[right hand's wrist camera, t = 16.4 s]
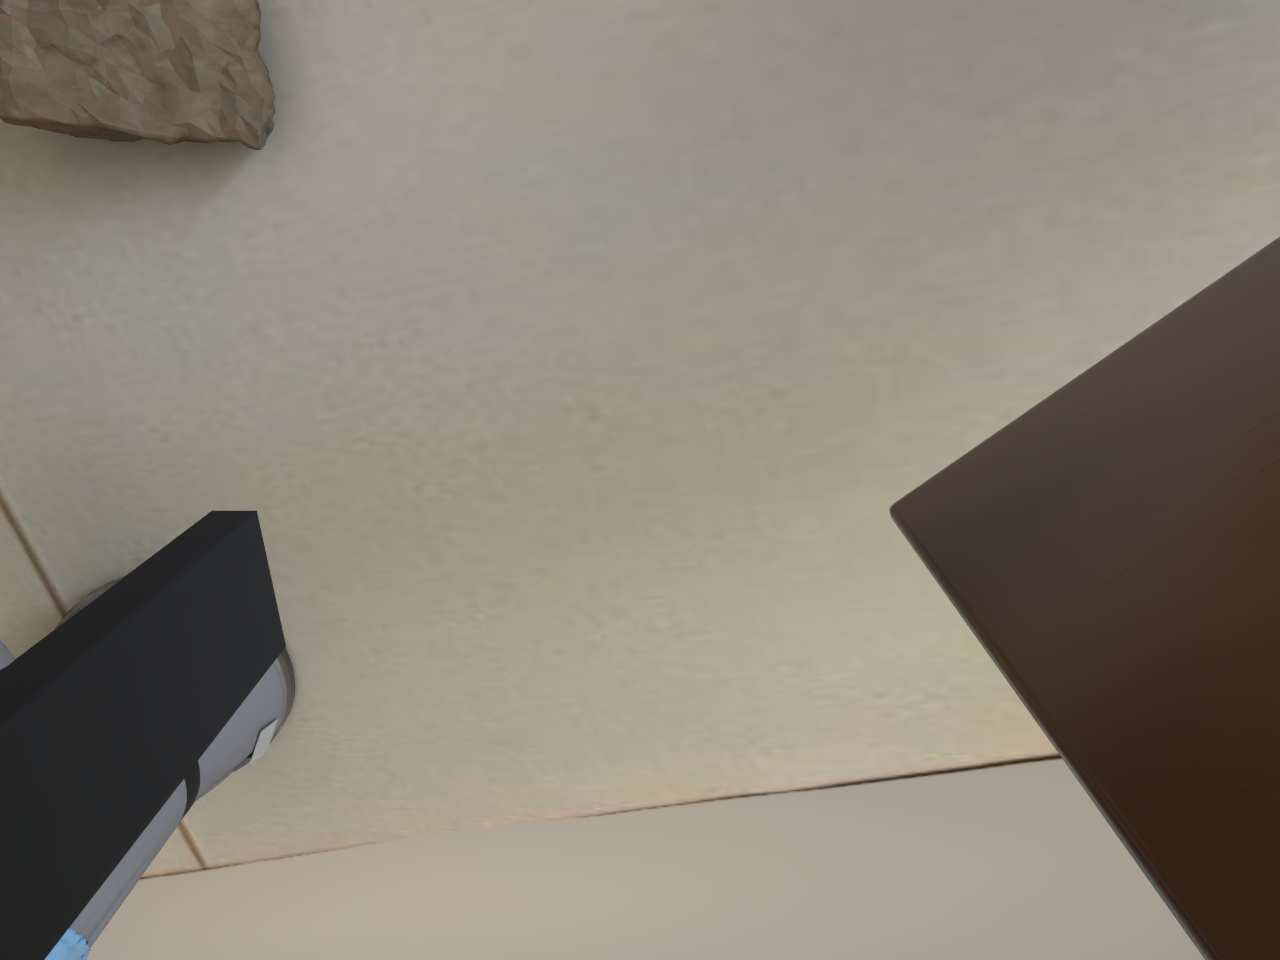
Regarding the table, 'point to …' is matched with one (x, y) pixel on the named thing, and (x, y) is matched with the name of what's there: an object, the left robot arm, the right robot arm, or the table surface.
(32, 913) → the right robot arm
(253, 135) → the stone
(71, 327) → the table surface
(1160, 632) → the bar
